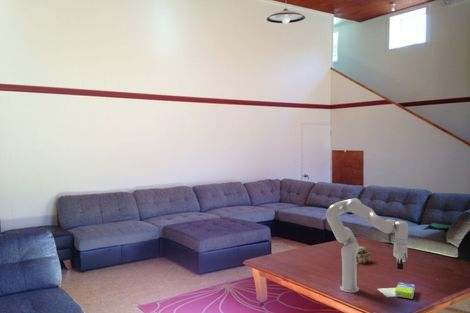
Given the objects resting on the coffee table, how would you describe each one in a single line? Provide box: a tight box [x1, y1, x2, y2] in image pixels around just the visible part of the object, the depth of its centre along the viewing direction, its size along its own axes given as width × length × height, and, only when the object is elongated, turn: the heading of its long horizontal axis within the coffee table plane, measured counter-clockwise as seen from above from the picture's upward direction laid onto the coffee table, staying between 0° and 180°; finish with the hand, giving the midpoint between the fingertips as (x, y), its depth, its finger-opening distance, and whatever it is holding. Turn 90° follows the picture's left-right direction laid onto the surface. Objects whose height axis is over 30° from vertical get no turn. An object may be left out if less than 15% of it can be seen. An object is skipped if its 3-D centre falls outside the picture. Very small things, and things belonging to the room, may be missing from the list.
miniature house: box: [356, 245, 372, 265], centre depth 333 cm, size 15×14×11 cm
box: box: [395, 281, 416, 299], centre depth 261 cm, size 10×4×17 cm
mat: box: [377, 287, 399, 298], centre depth 264 cm, size 14×16×1 cm
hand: (400, 268), depth 253 cm, fingers closed
